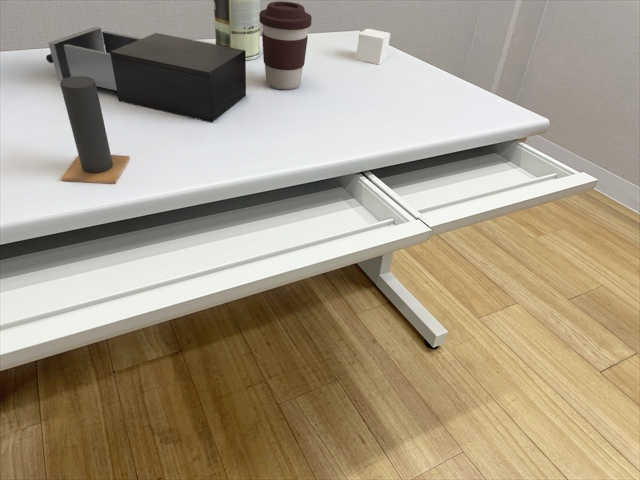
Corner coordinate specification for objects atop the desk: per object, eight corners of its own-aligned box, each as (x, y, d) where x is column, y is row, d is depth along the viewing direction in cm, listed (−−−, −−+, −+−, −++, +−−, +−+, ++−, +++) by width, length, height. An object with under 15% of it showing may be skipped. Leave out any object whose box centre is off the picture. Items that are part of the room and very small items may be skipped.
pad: (61, 181, 63) (60, 177, 63) (80, 155, 69) (80, 152, 69) (115, 184, 64) (114, 180, 64) (130, 158, 69) (129, 155, 69)
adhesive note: (379, 64, 113) (383, 38, 109) (355, 59, 115) (359, 33, 111) (386, 58, 118) (390, 32, 114) (363, 53, 119) (367, 28, 115)
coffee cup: (254, 75, 100) (254, -2, 91) (299, 74, 103) (303, -1, 94) (265, 94, 93) (266, 11, 84) (313, 92, 96) (319, 12, 87)
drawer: (38, 76, 88) (28, 38, 84) (84, 58, 97) (77, 22, 93) (140, 99, 84) (134, 60, 80) (178, 78, 93) (174, 42, 89)
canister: (77, 172, 64) (54, 86, 57) (87, 158, 68) (67, 74, 60) (107, 174, 65) (88, 88, 57) (116, 160, 68) (99, 77, 60)
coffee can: (208, 57, 107) (204, -12, 98) (225, 44, 115) (222, -21, 106) (252, 64, 106) (252, -6, 97) (265, 51, 114) (266, -15, 105)
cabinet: (118, 100, 85) (109, 51, 79) (161, 77, 95) (156, 32, 90) (212, 122, 81) (209, 72, 76) (246, 95, 91) (245, 50, 86)
